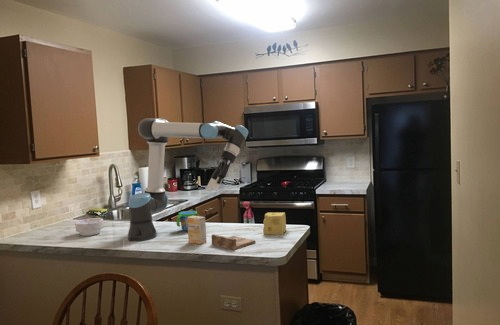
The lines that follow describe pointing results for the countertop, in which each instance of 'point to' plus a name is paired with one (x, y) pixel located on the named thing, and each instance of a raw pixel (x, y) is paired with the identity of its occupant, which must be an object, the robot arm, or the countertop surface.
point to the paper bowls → (89, 226)
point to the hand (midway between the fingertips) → (210, 190)
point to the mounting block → (231, 241)
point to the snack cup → (185, 219)
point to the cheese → (274, 223)
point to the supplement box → (196, 229)
